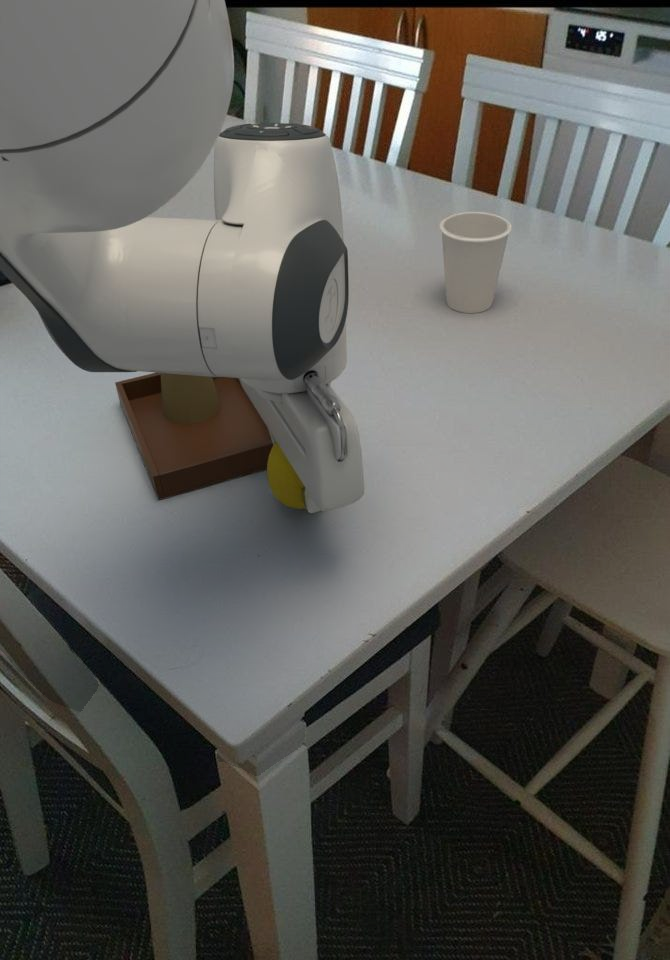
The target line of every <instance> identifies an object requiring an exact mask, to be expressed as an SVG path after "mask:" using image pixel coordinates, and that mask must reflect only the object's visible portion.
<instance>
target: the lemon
mask: <svg viewBox="0 0 670 960" xmlns="http://www.w3.org/2000/svg"><path fill="white" fill-rule="evenodd" d="M266 474H267V475H266V477H267V482H268V485H269V487H270V490H271V492H272V494H273V496H274V497H275V498H276V499H277V500H278V501H279V502H280V503H281V504H282V505H284V506H286V507H288V508H291V509H294V510H295V509H296V510H305V509H307V508H306V507H305V505H304V503H303V501H302V494H301V488H304V487H305V486H304V485H303V483H302V482H301V480H300V478H299V477H298V475H297V474H296V472H295V470H294V469H293V467H292V466H291V464H290V462H289V461H288V459H287V458H286V456H285V454H284V453H283V451H282V450H281V448H280V446H279V445H278V443H277V442H276V443H275V444H274V446H273V447H272V449H271V452H270V454H269V458H268V463H267V469H266Z"/></svg>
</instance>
